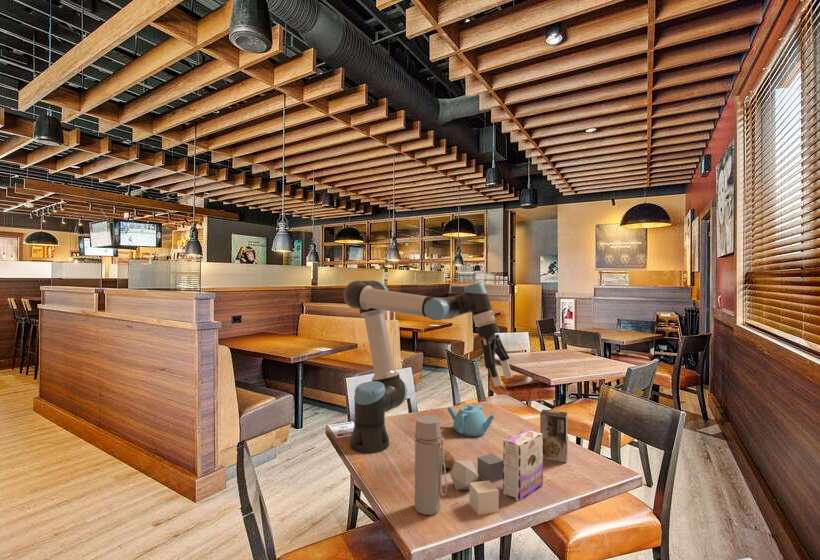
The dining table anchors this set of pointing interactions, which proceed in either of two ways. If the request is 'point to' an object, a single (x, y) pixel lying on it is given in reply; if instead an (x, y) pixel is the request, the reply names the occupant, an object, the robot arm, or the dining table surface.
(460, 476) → the die
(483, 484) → the cream block
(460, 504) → the dining table surface
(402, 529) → the dining table surface
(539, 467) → the candy box
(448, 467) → the bread roll
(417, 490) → the water bottle
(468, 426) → the teapot
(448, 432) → the dining table surface
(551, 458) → the coffee box
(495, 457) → the charcoal block
